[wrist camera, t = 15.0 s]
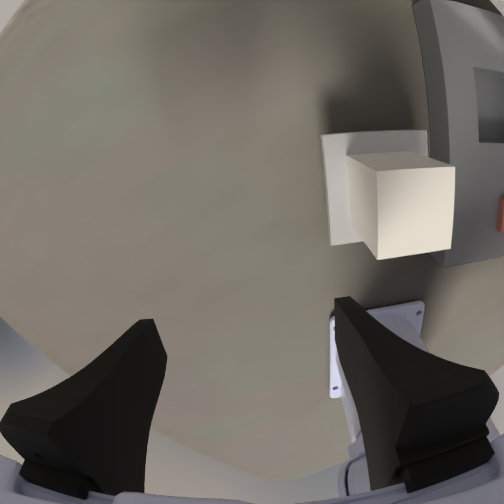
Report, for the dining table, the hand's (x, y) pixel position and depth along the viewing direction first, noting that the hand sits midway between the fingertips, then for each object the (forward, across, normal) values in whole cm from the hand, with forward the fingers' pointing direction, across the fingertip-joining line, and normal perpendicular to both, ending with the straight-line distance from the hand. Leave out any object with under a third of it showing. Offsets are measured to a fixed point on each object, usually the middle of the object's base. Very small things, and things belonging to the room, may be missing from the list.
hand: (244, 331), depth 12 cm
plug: (+10, -8, -3) cm, 13 cm away
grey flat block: (+10, -18, -6) cm, 22 cm away
